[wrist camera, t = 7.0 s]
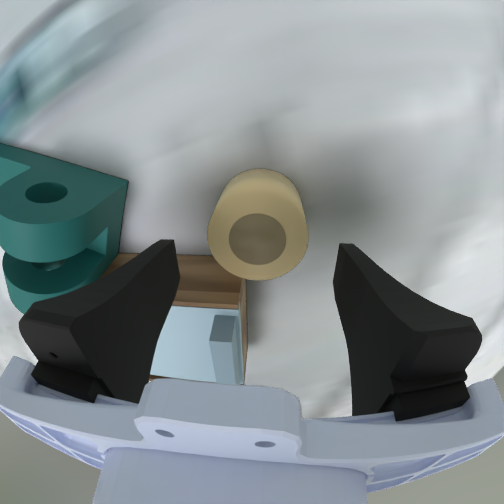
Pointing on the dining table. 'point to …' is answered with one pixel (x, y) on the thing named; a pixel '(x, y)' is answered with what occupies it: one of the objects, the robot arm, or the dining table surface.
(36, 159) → the bracket
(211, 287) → the pencil box
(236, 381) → the lid
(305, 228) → the tape roll
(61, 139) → the dining table surface
